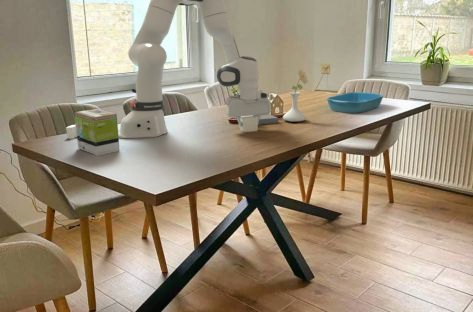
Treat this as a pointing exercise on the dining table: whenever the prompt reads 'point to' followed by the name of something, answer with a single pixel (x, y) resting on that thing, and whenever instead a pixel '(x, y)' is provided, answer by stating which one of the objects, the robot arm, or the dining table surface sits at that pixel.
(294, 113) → the flower in vase
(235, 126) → the dining table surface
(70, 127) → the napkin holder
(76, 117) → the tea box
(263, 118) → the plate
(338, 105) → the casserole dish
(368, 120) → the dining table surface
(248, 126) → the cream block
